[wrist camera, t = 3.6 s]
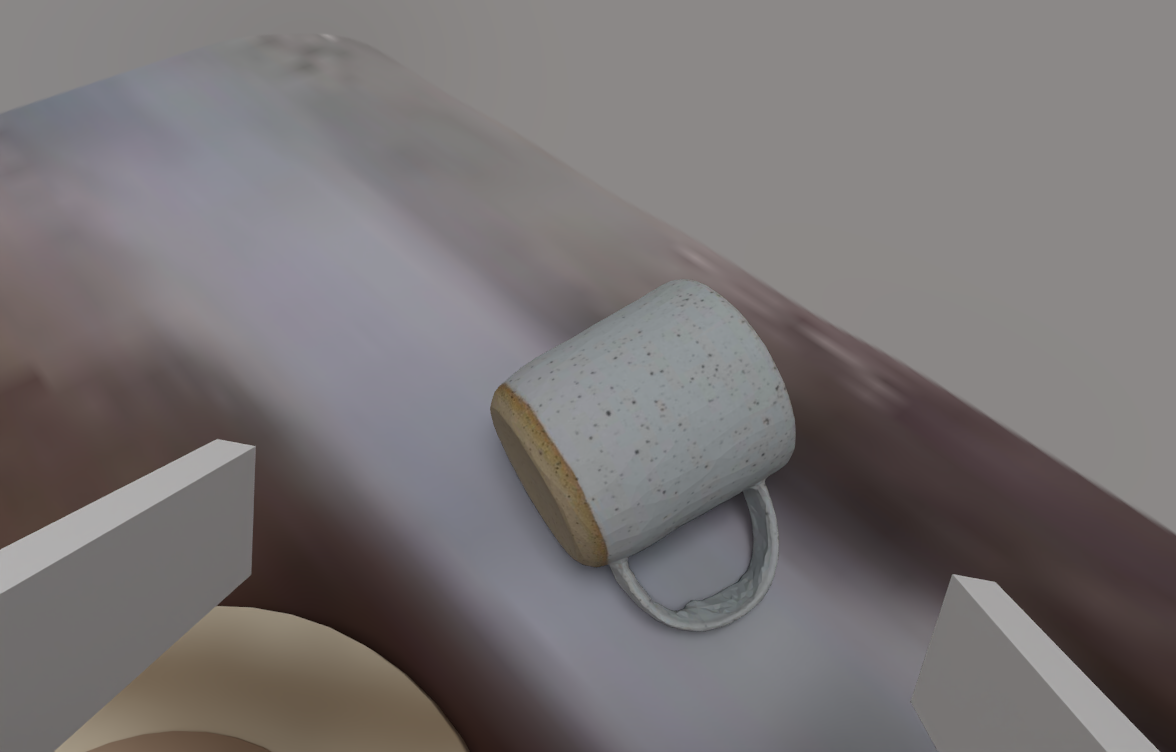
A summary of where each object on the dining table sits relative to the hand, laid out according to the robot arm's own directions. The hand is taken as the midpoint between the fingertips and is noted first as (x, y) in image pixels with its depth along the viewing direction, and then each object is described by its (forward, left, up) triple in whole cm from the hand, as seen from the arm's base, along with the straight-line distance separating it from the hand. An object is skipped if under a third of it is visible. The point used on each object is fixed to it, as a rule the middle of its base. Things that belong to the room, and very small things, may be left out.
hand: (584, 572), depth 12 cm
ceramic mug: (+5, -4, -12) cm, 13 cm away
